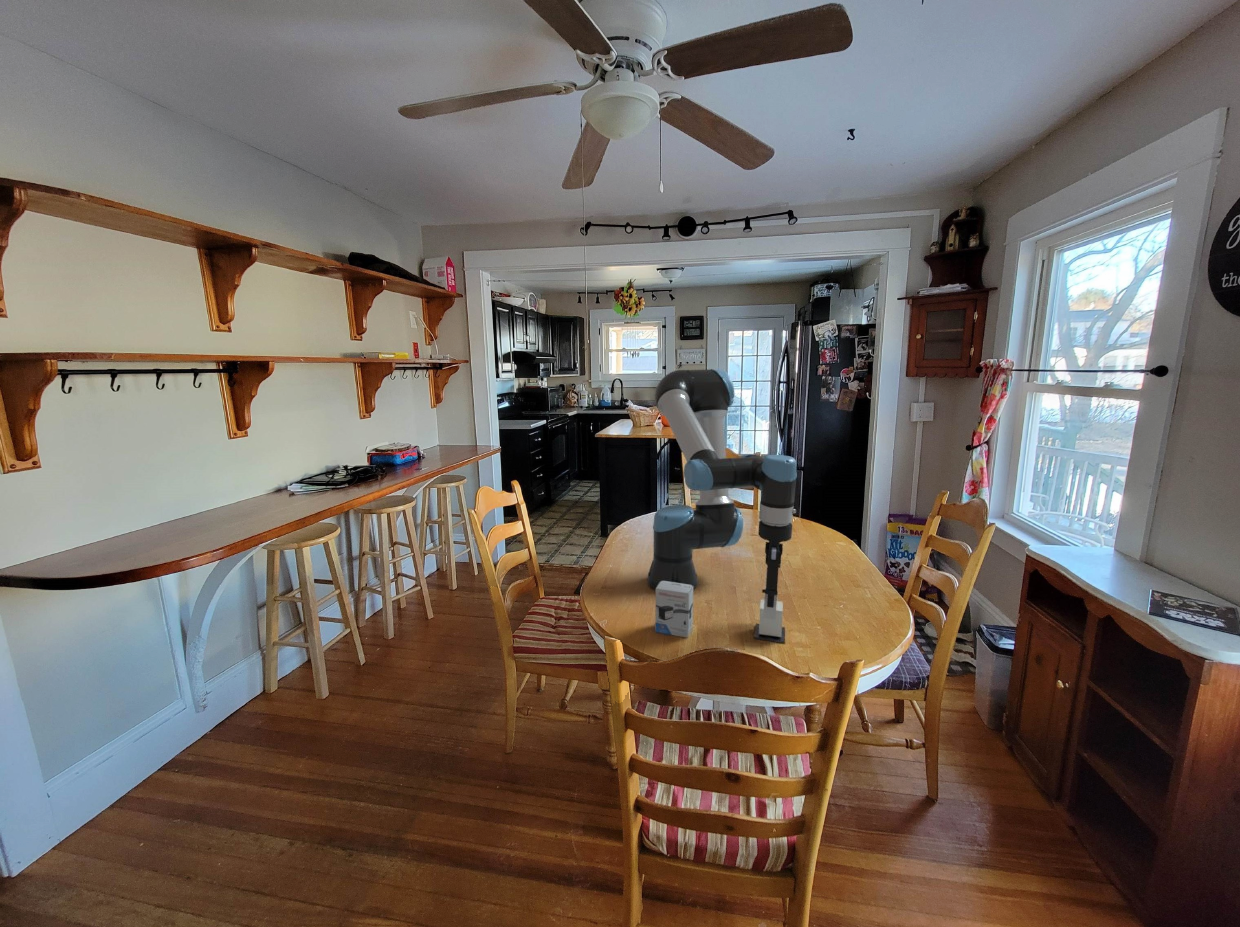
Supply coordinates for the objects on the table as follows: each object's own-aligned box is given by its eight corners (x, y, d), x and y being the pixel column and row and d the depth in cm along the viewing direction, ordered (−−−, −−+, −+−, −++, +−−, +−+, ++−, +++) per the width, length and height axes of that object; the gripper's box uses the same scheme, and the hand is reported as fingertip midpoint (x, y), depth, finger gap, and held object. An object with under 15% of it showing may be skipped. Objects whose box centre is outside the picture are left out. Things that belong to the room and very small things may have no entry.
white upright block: (758, 633, 123) (759, 608, 121) (759, 623, 128) (760, 599, 126) (781, 636, 121) (782, 611, 120) (781, 626, 126) (782, 601, 125)
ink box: (654, 632, 126) (654, 587, 124) (660, 623, 130) (660, 580, 128) (688, 638, 123) (689, 593, 121) (692, 629, 127) (693, 584, 125)
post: (754, 638, 122) (755, 611, 121) (755, 625, 129) (757, 599, 128) (784, 643, 120) (786, 615, 119) (784, 629, 127) (786, 602, 126)
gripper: (793, 541, 107) (786, 633, 111) (791, 507, 130) (785, 584, 134) (756, 537, 109) (751, 627, 113) (761, 505, 132) (756, 580, 137)
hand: (770, 604), depth 124 cm, fingers open, 13 cm apart
